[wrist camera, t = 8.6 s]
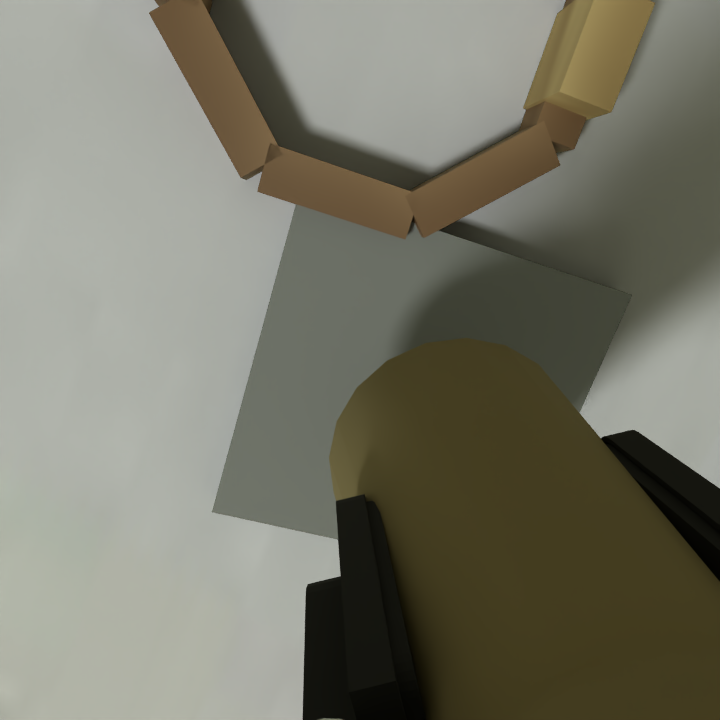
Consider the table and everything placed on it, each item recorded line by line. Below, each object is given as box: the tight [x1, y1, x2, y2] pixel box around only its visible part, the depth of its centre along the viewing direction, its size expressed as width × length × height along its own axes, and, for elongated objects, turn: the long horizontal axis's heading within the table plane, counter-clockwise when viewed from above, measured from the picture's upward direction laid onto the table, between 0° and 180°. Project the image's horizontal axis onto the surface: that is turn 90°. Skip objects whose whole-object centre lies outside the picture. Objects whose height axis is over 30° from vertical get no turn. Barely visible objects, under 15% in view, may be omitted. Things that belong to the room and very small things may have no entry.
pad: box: [212, 204, 632, 539], centre depth 16 cm, size 10×10×1 cm
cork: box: [329, 338, 720, 720], centre depth 7 cm, size 6×6×11 cm
